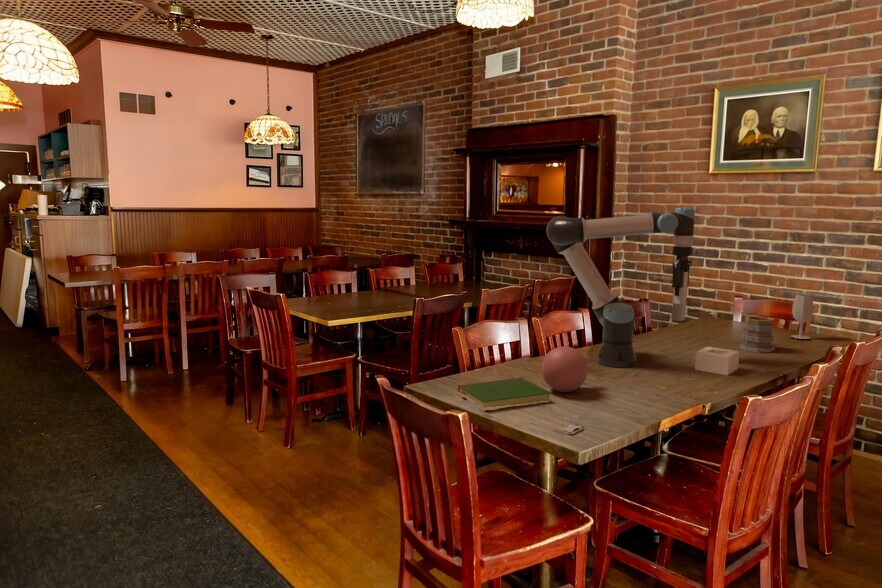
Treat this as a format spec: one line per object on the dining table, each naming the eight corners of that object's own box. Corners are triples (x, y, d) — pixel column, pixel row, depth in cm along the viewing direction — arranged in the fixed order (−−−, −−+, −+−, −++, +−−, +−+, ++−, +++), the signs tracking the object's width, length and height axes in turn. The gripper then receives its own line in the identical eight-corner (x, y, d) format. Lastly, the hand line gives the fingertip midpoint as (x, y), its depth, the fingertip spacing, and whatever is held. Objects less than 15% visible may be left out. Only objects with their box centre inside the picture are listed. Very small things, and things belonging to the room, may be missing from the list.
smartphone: (541, 415, 187) (584, 426, 176) (541, 418, 187) (584, 429, 176) (526, 421, 181) (570, 432, 171) (526, 425, 181) (570, 436, 171)
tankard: (778, 353, 266) (781, 318, 264) (748, 352, 266) (751, 318, 264) (756, 342, 286) (758, 310, 284) (728, 342, 286) (730, 310, 284)
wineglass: (785, 337, 297) (788, 294, 294) (799, 336, 300) (803, 293, 297) (800, 341, 289) (804, 296, 286) (815, 340, 291) (819, 295, 288)
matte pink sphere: (606, 391, 212) (607, 347, 210) (562, 400, 201) (564, 354, 199) (574, 380, 225) (575, 338, 223) (531, 389, 214) (532, 345, 212)
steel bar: (681, 321, 254) (684, 272, 251) (671, 319, 256) (674, 271, 254) (685, 319, 257) (688, 271, 254) (675, 318, 259) (678, 270, 256)
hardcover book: (520, 388, 217) (521, 377, 217) (550, 403, 200) (551, 392, 200) (456, 396, 207) (456, 385, 207) (481, 413, 190) (481, 402, 190)
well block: (727, 375, 231) (728, 357, 230) (694, 369, 239) (695, 351, 238) (737, 369, 240) (739, 351, 239) (706, 363, 248) (707, 346, 247)
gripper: (683, 247, 243) (680, 306, 247) (700, 245, 256) (696, 301, 259) (665, 246, 248) (661, 304, 252) (681, 244, 261) (678, 299, 264)
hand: (679, 302), depth 256 cm, fingers closed on steel bar, 4 cm apart
